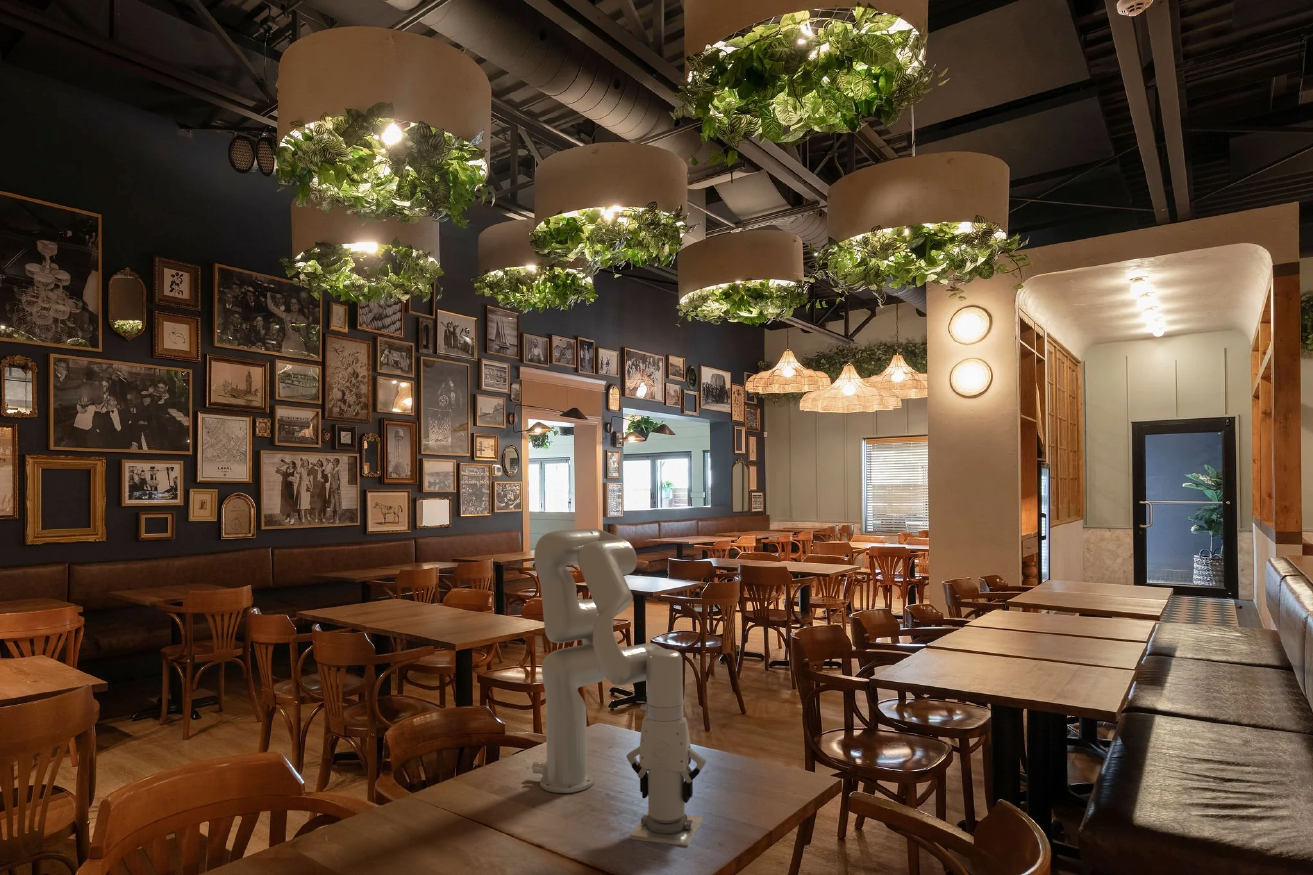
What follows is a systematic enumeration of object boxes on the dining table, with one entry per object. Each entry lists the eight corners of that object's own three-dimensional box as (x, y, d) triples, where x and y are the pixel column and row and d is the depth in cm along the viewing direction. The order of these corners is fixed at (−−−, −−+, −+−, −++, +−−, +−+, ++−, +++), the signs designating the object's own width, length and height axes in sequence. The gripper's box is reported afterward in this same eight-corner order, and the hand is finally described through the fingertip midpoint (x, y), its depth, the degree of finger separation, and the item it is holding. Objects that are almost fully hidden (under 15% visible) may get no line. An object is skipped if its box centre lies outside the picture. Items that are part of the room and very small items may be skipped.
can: (657, 807, 167) (657, 749, 168) (690, 813, 164) (689, 754, 164) (642, 820, 160) (641, 760, 161) (675, 827, 157) (675, 765, 158)
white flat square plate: (630, 838, 158) (629, 826, 158) (648, 814, 169) (647, 803, 169) (688, 846, 154) (687, 833, 154) (702, 820, 166) (702, 809, 166)
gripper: (619, 713, 162) (620, 800, 161) (701, 720, 157) (703, 809, 156) (631, 703, 169) (632, 787, 168) (710, 709, 164) (711, 795, 163)
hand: (666, 797), depth 162 cm, fingers open, 8 cm apart
